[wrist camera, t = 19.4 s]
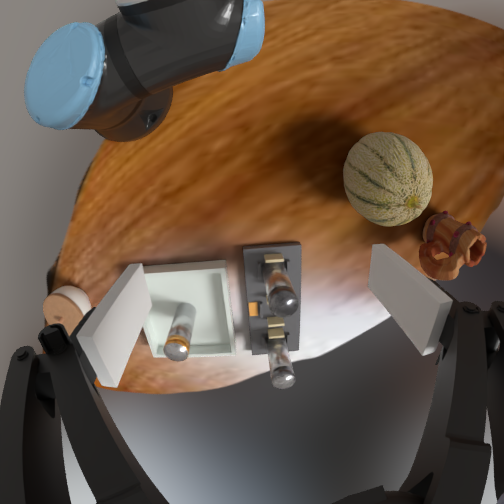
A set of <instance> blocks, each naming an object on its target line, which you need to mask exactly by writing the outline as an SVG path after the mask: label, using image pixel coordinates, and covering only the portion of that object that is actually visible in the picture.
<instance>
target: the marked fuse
mask: <svg viewBox="0 0 504 504" xmlns="http://www.w3.org/2000/svg"><path fill="white" fill-rule="evenodd" d="M195 317H196V309H195V307H194V306H193V305H192V304H190V303H181V304H179V305H178V306H177V308H176V311H175V314H174V317H173V321H172V324H171V327H170V330H169V333H168V337H167V339H166V342H165V345H164V349H163V351H164V354H165V355H166V357H168V358H169V359H171V360H173V361H183V360H185V359H187V357H188V355H189V349H190V342H191V337H192V332H193V327H194V322H195Z"/></svg>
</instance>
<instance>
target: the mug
mask: <svg viewBox="0 0 504 504" xmlns="http://www.w3.org/2000/svg"><path fill="white" fill-rule="evenodd" d="M423 239H424V241H425V242H426V243H424V244H421V246H420V249H419V259H420V263H421V267H422V268H423V270H424V271H425V273H426V274H428V275H429V276H430V277H432V278H435V279H438V280H452V279H454V278H455V277H457V275H458V271H459V268H460V267H461V266H462V265H463V264H466V265H467V266H469V267H472V266H474V265H477V264H478V263H479V261H480V260H481V257H482V256H483V255H484V254H485V250H486V242H485V240H486V238H485V237H484V235H482V234H481V233H479V232H478V231H477V229H476V228H475V227H474V226H472V225H471V222H467V223H466V224H463V223H460V222H458V221H456V220H455V219H454V218H453V217H452V216H451V215H449V214H448V212H447V211H443V212H442V213H439V214H436V215H432V216H431V217H430V218H428V220H427V221H426V223H425V226H424V229H423ZM441 252H444V253H446V254H448V255H449V257H448V258H443V259H440V260H436V259H435V258H434V256H435V255H436V254H440V253H441Z"/></svg>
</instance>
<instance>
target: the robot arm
mask: <svg viewBox="0 0 504 504" xmlns="http://www.w3.org/2000/svg"><path fill="white" fill-rule="evenodd" d="M115 2H116V4H117V6H118V8H119V10H120V12H119V13H117V14H115V15H113V16H111V17H110V18H108V19H106V20H104V21H102V22H100V23H98V24H97V25H93V24H91V23H86V22H83V23H77V22H74V23H70V24H67V25H65V26H63V27H61V28H59V29H58V30H56V31H55V32H54V33H52V34H51V35H50V36H49V37H48V38H47V39H46V40H45V41H44V43H43V44H42V45H41V46H40V48H39V49H38V51H37V52H36V54H35V56H34V58H33V59H32V62H31V65H30V68H29V70H28V73H27V76H26V80H25V87H24V96H25V104H26V107H27V110H28V113H29V114H30V116H31V117H32V119H33V120H34V121H35V122H36V123H38V124H40V125H42V126H45V127H50V128H54V129H57V130H64V129H94V130H95V131H96V132H97V133H98V134H99V135H101V136H102V137H104V138H106V139H108V140H111V141H117V142H129V141H135V140H138V139H141V138H143V137H145V136H147V135H148V134H150V133H151V132H153V131H154V130H155V129H156V128H157V127H158V126H159V125H160V124H161V123H162V121H163V120H164V118H165V117H166V115H167V113H168V111H169V109H170V106H171V102H172V97H173V88H172V86H175V85H177V84H180V83H183V82H185V81H188V80H191V79H194V78H196V77H199V76H202V75H205V74H208V73H211V72H214V71H219V72H220V71H224V70H226V69H228V68H229V67H231V66H235V65H238V64H241V63H244V62H247V61H250V60H251V59H253V58H254V57H255V56H256V55H257V54H258V53H259V51H260V49H261V47H262V44H263V39H264V30H265V19H264V8H263V3H262V1H261V0H116V1H115ZM368 288H369V289H370V290H371V291H372V292H373V293H374V295H375V296H376V297H377V298H378V300H379V301H380V302H381V303H382V304H383V306H384V307H385V308H386V309H387V311H388V312H389V313H390V314H391V316H392V317H393V318H394V319H395V320H396V322H397V323H398V324H399V326H400V327H401V328H402V329H403V331H404V332H405V333H406V335H407V336H408V337H409V339H410V340H411V341H412V342H413V344H414V345H415V346H416V348H417V349H418V350H419V352H420V353H421V354H422V355H426V354H429V353H432V352H434V351H435V350H436V347H437V345H438V342H439V341H440V343H441V344H442V345H443V348H442V350H441V353H440V355H439V357H438V360H437V362H436V365H437V364H438V362H439V367H438V372H437V378H436V384H435V389H434V393H433V398H432V403H431V407H430V411H429V415H428V419H427V422H426V426H425V429H424V433H423V436H422V439H421V443H420V446H419V449H418V452H417V454H416V457H415V460H414V463H413V466H412V468H411V471H410V473H409V475H408V477H407V478H406V480H405V481H404V483H403V484H402V486H401V487H400V489H399V491H384V488H383V486H379V487H376V488H373V489H370V490H367V491H363V492H360V493H357V494H353V495H350V496H347V497H345V498H343V499H341V500H339V501H337V502H335V503H332V504H481V500H482V496H483V493H484V488H485V484H486V480H487V475H488V470H489V464H490V458H491V446H490V444H486V443H484V432H485V423H486V410H488V415H489V421H490V429H491V437H492V446H493V461H494V481H495V490H496V498H497V504H504V302H502V301H495V302H493V303H492V305H491V308H490V310H489V311H481V309H480V308H479V307H478V306H477V305H475V304H474V303H471V302H458V301H457V300H456V299H455V298H454V297H453V296H452V295H450V294H449V293H448V292H447V291H445V289H443V288H442V287H441V286H440V285H439V284H438V283H436V282H435V281H433V280H431V279H429V278H427V277H425V276H424V275H423V274H422V273H420V272H419V271H418V270H417V269H415V268H414V267H413V266H412V265H410V264H409V263H408V262H407V261H405V260H404V259H403V258H402V257H400V256H399V255H398V254H396V253H395V252H394V251H393V250H391V249H390V248H389V247H387V246H386V245H385V244H374V245H372V255H371V264H370V273H369V281H368ZM151 307H152V302H151V298H150V295H149V291H148V287H147V283H146V279H145V275H144V271H143V266H142V263H137V264H129V266H128V267H127V268H126V269H125V271H124V272H123V273H122V274H121V276H120V277H119V278H118V279H117V281H116V282H115V283H114V285H113V286H112V287H111V289H110V290H109V291H108V292H107V294H106V295H105V296H104V298H103V299H102V300H101V302H100V303H99V304H98V306H97V307H93V308H92V309H91V310H89V311H88V312H87V313H86V314H85V315H84V317H83V318H82V320H81V321H80V322H79V323H78V325H77V326H76V328H75V329H74V330H73V332H72V333H71V335H70V336H69V335H68V333H67V331H66V329H65V327H64V325H63V324H60V323H55V324H51V325H49V326H47V327H45V328H44V329H43V330H42V331H41V332H40V333H39V335H38V339H39V341H40V343H41V345H42V347H43V349H44V351H45V352H46V354H39V355H36V353H35V351H34V349H33V348H32V347H30V346H24V347H20V348H19V349H17V350H16V352H15V353H14V354H13V356H12V358H11V361H10V365H9V369H8V372H7V376H6V381H5V385H4V390H3V394H2V399H1V405H0V504H71V501H70V496H69V491H68V485H67V479H66V473H65V466H64V458H63V448H62V436H61V417H62V420H63V423H64V426H65V429H66V432H67V435H68V438H69V441H70V443H71V446H72V449H73V451H74V453H75V456H76V459H77V461H78V463H79V466H80V468H81V470H82V472H83V475H84V477H85V479H86V481H87V483H88V485H89V487H90V489H91V491H92V493H93V495H94V497H95V499H96V502H97V503H96V504H169V503H168V501H167V500H166V499H165V498H164V496H163V495H162V494H161V493H160V492H159V490H158V489H157V488H156V486H155V485H154V484H153V482H152V481H151V480H150V478H149V477H148V475H147V474H146V473H145V471H144V470H143V468H142V467H141V465H140V464H139V463H138V461H137V459H136V458H135V456H134V455H133V454H132V452H131V450H130V449H129V447H128V445H127V444H126V442H125V440H124V439H123V437H122V435H121V434H120V432H119V430H118V428H117V427H116V425H115V423H114V421H113V419H112V417H111V416H110V414H109V412H108V410H107V408H106V406H105V404H104V402H103V400H102V398H101V396H100V394H99V392H98V389H97V387H96V386H95V384H94V381H95V379H96V377H97V378H98V379H99V381H100V383H101V385H102V386H108V387H117V386H118V384H119V381H120V379H121V376H122V374H123V371H124V369H125V366H126V364H127V361H128V359H129V357H130V354H131V352H132V350H133V347H134V345H135V343H136V340H137V338H138V336H139V333H140V331H141V329H142V327H143V324H144V322H145V320H146V318H147V316H148V313H149V311H150V309H151ZM499 343H500V348H499V351H498V348H497V347H498V345H499Z"/></svg>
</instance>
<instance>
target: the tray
mask: <svg viewBox="0 0 504 504" xmlns="http://www.w3.org/2000/svg"><path fill="white" fill-rule="evenodd" d="M143 271H144V275H145V279H146V283H147V287H148V291H149V295H150V298H151V302H152V307H151V309H150V311H149V313H148V316H147V318H146V320H145V322H144V324H143V328H144V331H145V334H146V337H147V340H148V343H149V346H150V348H151V351H152V354H153V357H166V355H165V354H164V351H163V349H164V345H165V342H166V339H167V337H168V333H169V330H170V327H171V324H172V321H173V317H174V314H175V311H176V308H177V306H178V305H179V304H181V303H190V304H192V305H193V306H194V307H195V309H196V317H195V322H194V327H193V332H192V337H191V342H190V349H189V355H188V357H213V356H232V355H236V340H235V332H234V325H233V317H232V309H231V300H230V292H229V284H228V275H227V266H226V260H215V261H202V262H189V263H176V264H163V265H150V266H143Z"/></svg>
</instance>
